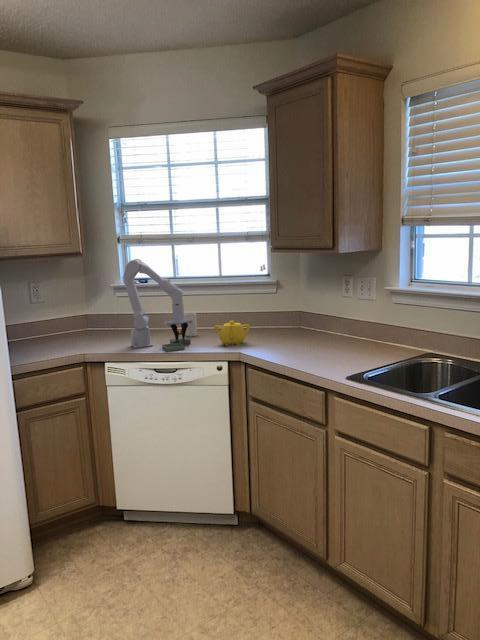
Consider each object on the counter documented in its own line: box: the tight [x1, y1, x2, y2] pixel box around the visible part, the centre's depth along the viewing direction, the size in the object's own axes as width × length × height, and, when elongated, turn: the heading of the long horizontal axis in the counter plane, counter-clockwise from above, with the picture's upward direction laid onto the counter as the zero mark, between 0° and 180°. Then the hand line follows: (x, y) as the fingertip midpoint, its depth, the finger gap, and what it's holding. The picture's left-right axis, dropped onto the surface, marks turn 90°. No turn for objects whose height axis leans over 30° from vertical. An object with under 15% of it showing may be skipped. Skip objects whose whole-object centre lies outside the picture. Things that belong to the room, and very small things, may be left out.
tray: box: [161, 343, 186, 353], centre depth 269 cm, size 9×9×2 cm
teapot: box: [214, 320, 251, 347], centre depth 273 cm, size 14×14×12 cm
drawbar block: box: [169, 336, 192, 346], centre depth 279 cm, size 9×7×2 cm
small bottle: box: [177, 329, 183, 341], centre depth 278 cm, size 3×3×7 cm
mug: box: [184, 312, 198, 337], centre depth 300 cm, size 10×7×12 cm, turn 63°
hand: (180, 338), depth 278 cm, fingers closed on small bottle, 3 cm apart
